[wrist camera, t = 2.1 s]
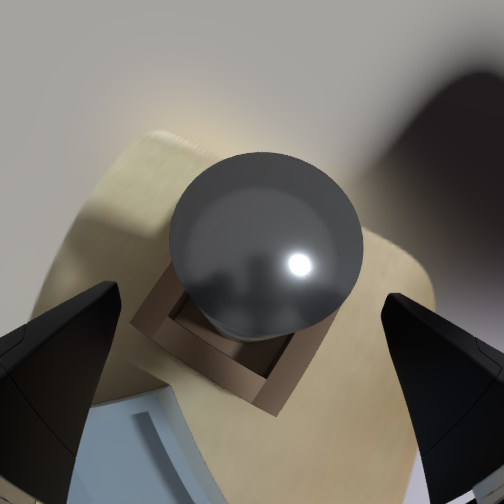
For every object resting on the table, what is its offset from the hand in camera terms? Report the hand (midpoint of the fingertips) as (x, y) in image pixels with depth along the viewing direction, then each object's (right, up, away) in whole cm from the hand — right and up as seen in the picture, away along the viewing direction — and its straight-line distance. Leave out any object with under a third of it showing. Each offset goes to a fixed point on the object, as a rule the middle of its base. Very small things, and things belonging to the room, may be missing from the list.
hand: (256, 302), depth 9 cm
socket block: (-1, -2, +9) cm, 9 cm away
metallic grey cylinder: (-1, -2, +8) cm, 8 cm away
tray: (-7, -14, +4) cm, 17 cm away
